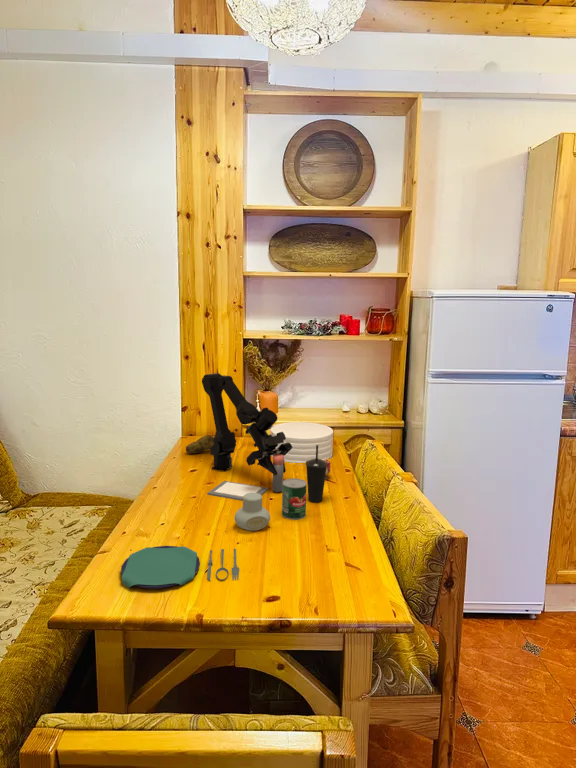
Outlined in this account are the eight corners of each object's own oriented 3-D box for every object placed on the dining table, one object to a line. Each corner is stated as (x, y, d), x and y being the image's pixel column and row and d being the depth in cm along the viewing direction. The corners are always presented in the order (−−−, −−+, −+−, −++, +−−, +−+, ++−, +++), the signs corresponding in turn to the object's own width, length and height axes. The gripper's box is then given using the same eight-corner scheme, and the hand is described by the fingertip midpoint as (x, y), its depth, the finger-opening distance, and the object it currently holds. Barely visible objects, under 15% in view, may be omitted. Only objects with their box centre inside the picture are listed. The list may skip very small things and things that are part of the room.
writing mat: (207, 494, 180) (207, 492, 179) (224, 482, 192) (224, 479, 191) (253, 502, 173) (253, 500, 173) (268, 489, 185) (268, 487, 185)
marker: (270, 490, 182) (271, 456, 180) (274, 487, 186) (275, 453, 184) (280, 492, 181) (281, 457, 179) (284, 488, 185) (285, 454, 182)
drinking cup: (324, 505, 172) (326, 449, 169) (302, 503, 174) (304, 447, 170) (327, 497, 180) (329, 443, 176) (306, 494, 181) (308, 441, 178)
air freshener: (264, 518, 162) (265, 489, 160) (273, 529, 154) (273, 498, 152) (231, 523, 158) (231, 493, 156) (238, 535, 150) (238, 503, 148)
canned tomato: (289, 507, 170) (290, 476, 168) (310, 513, 166) (311, 481, 164) (277, 516, 163) (277, 483, 162) (298, 522, 159) (299, 489, 158)
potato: (188, 450, 230) (188, 433, 228) (216, 450, 230) (216, 433, 229) (184, 455, 222) (184, 438, 220) (214, 456, 222) (214, 438, 220)
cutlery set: (128, 552, 139) (128, 545, 139) (238, 550, 143) (238, 542, 142) (112, 596, 120) (112, 587, 119) (239, 591, 123) (239, 583, 123)
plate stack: (261, 460, 219) (261, 434, 217) (281, 442, 245) (281, 419, 243) (324, 467, 211) (325, 441, 209) (337, 448, 237) (338, 425, 235)
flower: (336, 471, 201) (326, 454, 202) (337, 474, 192) (325, 457, 192) (316, 484, 202) (305, 467, 202) (315, 488, 192) (304, 470, 193)
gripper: (251, 430, 176) (272, 468, 170) (289, 421, 189) (310, 456, 183) (237, 446, 183) (257, 484, 177) (275, 437, 196) (294, 471, 190)
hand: (280, 473), depth 181 cm, fingers closed on marker, 4 cm apart
